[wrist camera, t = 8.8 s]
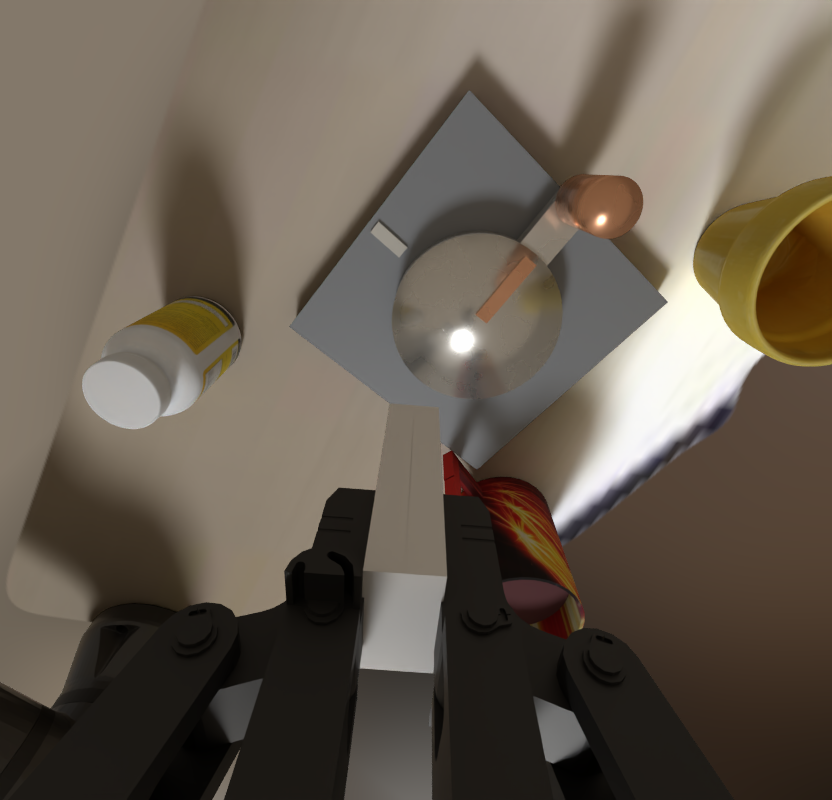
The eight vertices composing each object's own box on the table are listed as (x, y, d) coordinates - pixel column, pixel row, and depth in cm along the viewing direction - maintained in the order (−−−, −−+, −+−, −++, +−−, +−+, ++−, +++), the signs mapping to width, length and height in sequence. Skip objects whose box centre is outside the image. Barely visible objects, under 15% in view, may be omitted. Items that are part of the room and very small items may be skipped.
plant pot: (845, 244, 33) (991, 271, 25) (718, 345, 37) (807, 400, 28) (767, 137, 31) (901, 125, 22) (638, 258, 34) (709, 289, 26)
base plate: (474, 457, 43) (477, 471, 41) (295, 319, 37) (288, 327, 35) (655, 295, 35) (669, 302, 33) (466, 94, 30) (469, 89, 28)
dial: (482, 414, 38) (493, 469, 31) (362, 329, 35) (345, 369, 28) (649, 237, 31) (712, 257, 25) (520, 114, 28) (548, 97, 22)
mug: (447, 441, 42) (452, 534, 31) (568, 502, 45) (612, 608, 34) (397, 512, 46) (386, 616, 35) (511, 564, 49) (534, 676, 38)
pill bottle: (163, 286, 36) (56, 334, 26) (246, 303, 37) (173, 356, 26) (167, 361, 39) (72, 431, 29) (243, 376, 40) (177, 450, 29)
